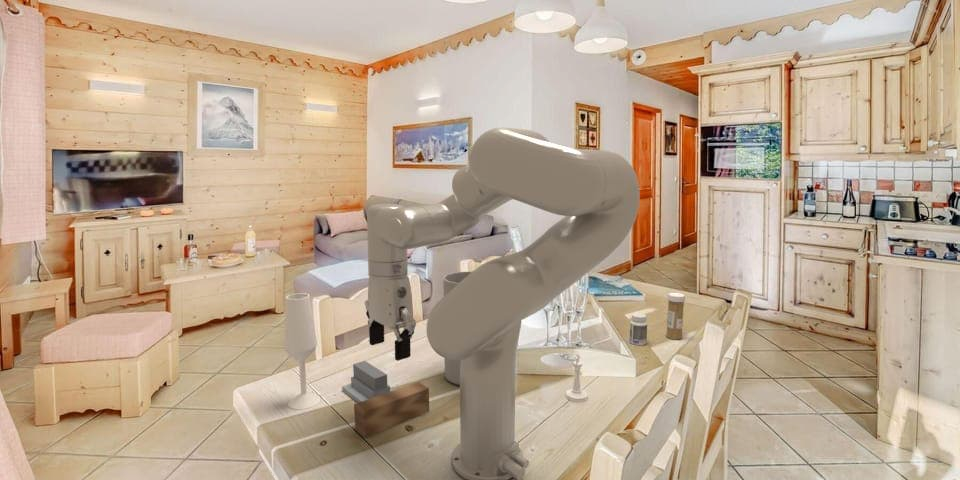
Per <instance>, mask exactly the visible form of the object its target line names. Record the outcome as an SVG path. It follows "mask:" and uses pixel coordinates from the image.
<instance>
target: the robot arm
mask: <svg viewBox="0 0 960 480" xmlns="http://www.w3.org/2000/svg"><path fill="white" fill-rule="evenodd" d="M468 159H469V160H468V161H469V162H468V163H467V164H466V165H464V166H463V167H461V168H459V169H458V170H457V171H456V172H454V173H455V174H454V175H453V176H452V177H453V178H452V182H451V189H452V194H451V195H449V196H448V197H446V198H444V199H443V200H441V201H439V202H437V203H431V204H430V203H429V204H422V205H413V206H404V205H402V204H400V203H399V204H398V203H397V204H396V203H377V204H373V205H370V206H369V207H368V208H367V211H366V227H367V228H366V231H367V233H366V234H367V267H368V268H367V269H368V287H367V290H368V291H367V299H366V300H365V301H364V306H365V309H366V311H365V312H366V316H367V319H368V320H367V324H368V329H369V330H368V332H369V333H368V336H369V338H368V339H369V345H370V346H375V345H378V344H383V343H384V342H385V327H387V328H388V329H391V330H392V331H393V333H394V337H395V338H396V340H394V360H395V361H396V362H397V361H398V362H399V361H402V360H405V359H407V358H410V357H411V356H412V355H411V339H412V338H413V335H414V334H415V329H416V326H417V321H416V320H415V318H414V308H413V307H414V306H413V295H412V287H411V282H410V277H409V276H408V274H409V273H408V269H409V268H408V250H412V249H416V248H417V249H418V248H422V247H425V246H431V245H436V244H440V243H444V242H448V241H450V240H452V239H453V238H455V237H457V236H460V235H462V234H463V233H465V232H467V231H468V230H470V229H472V228H474V227H476V225H478V224H479V223H480V222H481V221H482V220H483V219H484V218H485V216H486V215H488V214H489V213H491V212H492V211H494V210H496V209H498V208H499V207H501V206H503V205H505V204H506V203H509V202H510V201H512V200H515V201H518V202H520V203H523V204H526V205H529V206H531V207H533V208H537V209H539V210H542V211H545V212H548V213H551V214H555V215H557V216H563V217H562V218H561V219H560V220H558V221H557V222H555V223H554V224H553V225H551V226H550V227H549V228H548V229H547V230H546V231H545V232H544V233H543V234H542V235H540V236H539V237H538V238H537V239H535V241H533V242H531V244H529V245H528V246H527V247H525V248H524V249H522V250H519V251H517V252H512V253H510V254H507V255H504V256H501V257H497V258H494V259H491V260H489V261H487V262H484V263H483V264H481V265H480V266H478V267H476V268H475V269H473V270H471V271H470V272H471V273H470V274H469V275H468V276H467V277H465V278H464V279H463V280H462V281H461V282H460V283H459V284H458V285H457V286H455V287H454V288H453V289H452V290H451V291H450V292H449V293H448V294H447V295H445V296H444V295H443V297H442V298H441V299H440V300H439V301H438V302H437V303H436V304H435V305H434V307H433V308H432V309H431V311H430V312H429V316H428V317H427V320H426V336H427V340H428V343H429V345H430V347H431V348H432V349H433V351H434V352H435V353H436V354H437V355H439V356H440V357H442V358H444V359H445V358H446V359H449V360H461V364H460V385H459V417H460V418H459V423H460V424H459V425H460V427H459V428H460V429H459V430H460V431H459V432H460V434H459V436H460V439H459V441H460V442H459V443H458V444H457V445H456V446H455V448H453V451H452V454H451V465H452V468H453V470H454V471H455V472H456V473H457V474H458V475H459V476H461V478H464V479H465V480H509V479H512V478H515V480H522V479H523V478H524V477H525V474H526V469H527V468H528V466H529V465H530V461H529V460H528V459H526V458H524V453H523V451H522V449H521V447H520V443H519V442H517V441H516V440H515V439H516V437H515V436H516V435H515V434H516V433H515V432H516V431H515V429H516V378H517V377H516V374H517V371H516V370H517V366H516V365H517V352H518V344H519V338H520V333H521V327H522V321H523V320H525V319H527V318H529V317H530V316H532V315H535V314H536V313H538V312H539V311H541V310H543V309H544V308H546V307H547V306H548V305H549V304H550V303H552V301H554V300H555V299H556V298H557V297H558V296H560V295H561V294H562V293H563V292H565V291H566V290H567V289H569V288H570V287H571V286H573V285H574V284H575V283H577V282H578V281H579V280H581V279H582V278H583V277H584V276H585V275H586V274H588V273H589V272H591V271H592V270H593V269H594V268H596V267H597V266H598V265H599V264H600V263H602V262H603V261H604V260H606V259H607V258H608V257H609V256H610V255H611V254H612V253H613V252H614V251H615V250H616V249H618V247H619V246H620V245H621V244H622V243H623V241H624V240H626V237H628V235H629V233H630V231H631V229H633V226H634V224H635V221H636V219H637V217H638V216H637V215H638V212H639V210H640V209H639V207H640V198H641V195H640V194H641V192H640V191H641V190H640V185H639V180H638V177H637V174H636V171H635V169H634V168H633V166H632V165H631V163H630V162H629V161H628V160H627V159H626V158H625V157H623V156H621V155H620V154H617V153H616V152H612V151H610V150H602V149H590V148H588V149H586V148H573V147H568V146H565V145H560V144H557V143H553V142H550V141H549V139H547V137H545V136H544V135H543V134H541V133H539V132H537V131H534V130H530V129H523V128H522V129H521V128H511V127H496V128H492V129H488V130H487V131H485V132H484V133H482V134H480V136H479V137H477V139H476V140H475V142H474V143H473V145H472V147H471V149H470V153H469V158H468ZM400 329H403V330H402V331H400Z"/></svg>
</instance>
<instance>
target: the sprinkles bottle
mask: <svg viewBox="0 0 960 480" xmlns="http://www.w3.org/2000/svg"><path fill="white" fill-rule="evenodd" d="M685 299H686V295H685V294H684V293H680V292H669V293H668V296H667V301H668V307H667V318H666V319H667V320H666V335H665V337H666V338H668V339H670V340H676V341H677V340H681V339H682V338H683V325H684V324H683V323H684V306H685V305H684V304H685Z"/></svg>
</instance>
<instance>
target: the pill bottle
mask: <svg viewBox="0 0 960 480" xmlns="http://www.w3.org/2000/svg"><path fill="white" fill-rule="evenodd" d="M647 335H648V322H647V315H646V314H644V313H641V312H637V313H636V312H635V313H632V314H631V320H630V324H629V343H630V344H632V345H635V346H644V345H646V344H647V340H648V339H647Z"/></svg>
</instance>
